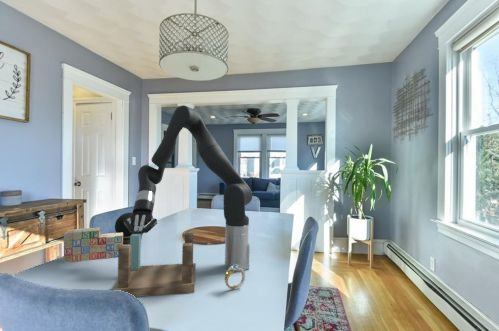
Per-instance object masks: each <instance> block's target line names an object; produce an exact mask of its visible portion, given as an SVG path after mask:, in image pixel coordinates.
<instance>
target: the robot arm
mask: <svg viewBox="0 0 499 331" xmlns="http://www.w3.org/2000/svg"><path fill="white" fill-rule="evenodd" d="M183 129H186V130H188V131H189V132H190V134H191V135H192V137H193V138H194V139H195V142H196V147H197V152H198V154H199V157H200V158H201V160H202V161H203V163H204V164H205V166H206V167H207V168H208V169H209V170H210V171H211V172H212V173H214V175H216V176H217V177H218V178H219V179H220V180H222V181H223V182H224V184H225V185H226V188H225V190H224V192H223V217H224V220H225V237H224V239H225V241H224V242H225V243H224V244H225V246H224V248H225V249H224V251H225V252H224V268H225V269H226V270H228V269H229V268H230V267H231V266H233V264H234V265H236V264H237V265H238V264H239V265H240V268H242V269H243V270H244V271H246V270H249V269H250V248H251V247H250V244H249V230H250V229H249V228H250V227H249V226H250V224H249V223H250V218H249V217H248V215H246V207H245V206H247V205H249V204H250V203H251V202H252V200H253V191H252V190H251V188H250V186H249V185H248V183H246V181H245V180H244V179H243V177H241V175H240V174H239V173H238V171H237V170H236V169H235V167H234V166H233V164H232V163H231V161H230V160H229V158H228V156H227V155H226V153H225V151H223V149H222V148H221V146H220V145H219V144H218V142H217V141H216V140H215V138H214V137H213V135H212V134H211V132H210V131H209V130H208V128H207V126H206V125H205V123H204V121H203V119H202V117H201V115H200V113H199V112H198V111H196V110H195V109H193V108H192V107H189V106H187V105H178V107H176V108H175V110H174V112H173V113H172V116H171V118H170V121H169V123H168V125H167V127H166V130H165V132H164V136H163V138H162V140H161V142H160V144H159V145H158V147H157V148H156V150H155V151H154V153H153V155H152V157H151V159H150V160H151V162H152V164H154V165H155V166H156V167H157V168H158V169H157V168H155V167H153V166H152V165H151V166H150V165H148V164H145V165H142V166H141V167H140V168H139V170H138V175H137V178H138V185H139V186H138V187H139V188H138V192H137V195H136V197H135V201H134V205H133V209H132V212H131V213H132V215H131V216H130V218H128V219H124V220H123V221H124V224H125V225H126V227H127V228H128V230H129V231H130V232H131V233H134V234H141V239H142V237H143V234H147V233H149V231H151V230H152V229H153V228H154V227H155V226H156V225H157V224H158V219H157V218H154V217H153V216H154V215H153V212H154V206H155V201H156V193H157V192H156V191H157V185H158V184H160V183H161V182H162V180H163V178H164V177H163V176H164V172H165V169H166V167H167V164H168V162H169V161H170V160H171V158H172V156H173V154H174V153H175V149H176V148H175V147H176V143H177V138H178V135H179V134H180V132H181V131H182V130H183ZM131 221H132V222H133V224H134V225H135V227H134V228H132V226H131V225H130V224H131ZM139 227H140V228H139ZM239 265H238V266H239ZM232 270H233V269H231V270H230V271H232ZM234 272H241V271H240V270H235V271H234Z"/></svg>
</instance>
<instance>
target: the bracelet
mask: <svg viewBox="0 0 499 331" xmlns="http://www.w3.org/2000/svg"><path fill="white" fill-rule="evenodd" d="M238 265H239V264H238ZM238 265H237V264H236V265H234V264H233V266H231V267H230V268H229V269H228V270H227V269H226V270H227V271H226V272H225V275H224V282H225V283H224V284H225V285H226V287H227V288H228V289H229V290H234V291H236V290H238V289H240V288H241V287H242V286H243V284H244V283H245V280H246V273H245V270H243V269H242V268H240V265H239V266H238ZM231 269H233V270H232V271H230V270H231ZM235 270H240V271H239V272H241V281H240V282H239V283H238V284H237V285H236V284H235V285H233V286H232V285H230V284H229V282H228V281H229V278H230V276H232V274H233V273H235V272H236V271H235Z"/></svg>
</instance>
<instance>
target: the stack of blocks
mask: <svg viewBox="0 0 499 331" xmlns="http://www.w3.org/2000/svg"><path fill="white" fill-rule="evenodd" d="M120 246H123V232H122V233H116V232H109V233H101V227H86V228H76V229H75V228H74V229H67V230H65V232H64V233H63V263H64V264H66V263H77V262H84V261H86V262H87V261H93V260H103V259H112V258H118V248H119V247H120Z"/></svg>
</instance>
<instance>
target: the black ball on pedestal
mask: <svg viewBox="0 0 499 331" xmlns="http://www.w3.org/2000/svg"><path fill="white" fill-rule="evenodd" d="M131 215H132V212H125V213H123V214H121V215H120V216H119V217H118V218H117V219H116V220H115V223H114V230H115V233H122V232H123V245H130V236H131V235H132V234H134V233H131V232H130V231H129V230H128V228H127V227H126V225H125V224H124V221H123V220H124V219H128V218H130V216H131ZM130 225H131V226H132V228H134V227H135V225H134V224H133V222H132V221H131V224H130ZM139 228H140V227H139Z"/></svg>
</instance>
